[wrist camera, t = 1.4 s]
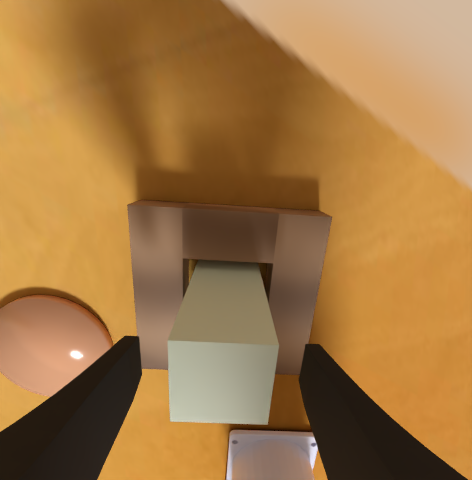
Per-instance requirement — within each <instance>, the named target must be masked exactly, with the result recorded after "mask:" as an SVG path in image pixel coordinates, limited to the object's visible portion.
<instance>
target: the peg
mask: <svg viewBox="0 0 472 480" xmlns="http://www.w3.org/2000/svg"><path fill="white" fill-rule="evenodd" d="M278 349H279V343H278V339H277V335H276V331H275V328H274V324H273V320H272V316H271V312H270V308H269V304H268V300H267V296H266V293H265V289H264V285H263V281H262V277H261V273H260V269H259V265H258V263H257V262H239V261H221V260H202V259H198V262H197V264H196V267H195V270H194V272H193V275H192V277H191V280H190V283H189V285H188V288H187V291H186V293H185V296H184V298H183V301H182V304H181V306H180V309H179V312H178V314H177V317H176V320H175V322H174V325H173V327H172V330H171V333H170V335H169V338H168V372H169V405H170V421H173V422H203V423H232V424H262V425H268V419H269V412H270V405H271V398H272V391H273V384H274V377H275V370H276V363H277V356H278Z"/></svg>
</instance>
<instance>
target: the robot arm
mask: <svg viewBox="0 0 472 480" xmlns="http://www.w3.org/2000/svg"><path fill="white" fill-rule="evenodd" d="M141 376H142V366H141V353H140V340H139V336H124V337H123V338H122V339H121V340H119V341H118V342H117V343H116V344H115V345H113V346H112V347H111V348H110V349H109V350H108V351H107V352H105V353H104V354H103V355H102V356H101V357H100V358H98V359H97V360H96V361H95V362H94V363H93V364H91V365H90V366H89V367H88V368H87V369H85V370H84V371H83V372H82V373H81V374H79V375H78V376H77V377H76V378H74V379H73V380H72V381H71V382H69V383H68V384H67V385H65V386H64V387H63V388H62V389H60V390H59V391H58V392H56V393H55V394H54V395H53V396H51V397H50V398H49V399H47V400H46V401H45V402H43V403H42V404H41V405H39V406H38V407H36V408H35V409H34V410H32V411H31V412H29V413H28V414H26V415H25V416H23V417H22V418H21V419H19V420H18V421H16V422H15V423H13V424H12V425H10V426H9V427H7V428H6V429H4V430H3V431H1V432H0V480H97V479H98V477H99V474H100V472H101V469H102V467H103V465H104V463H105V461H106V458H107V456H108V454H109V452H110V450H111V448H112V445H113V443H114V441H115V439H116V437H117V435H118V432H119V430H120V428H121V426H122V424H123V422H124V419H125V417H126V415H127V413H128V411H129V408H130V406H131V404H132V402H133V399H134V396H135V394H136V391H137V388H138V385H139V382H140V379H141ZM299 384H300V389H301V394H302V398H303V403H304V407H305V410H306V413H307V416H308V420H309V423H310V426H311V429H312V432H291V431H262V430H232V431H231V432H230V436H229V449H228V462H227V474H226V480H315V479H314V475H313V467H314V463H315V459H316V455H317V450H319V453H320V456H321V459H322V463H323V466H324V469H325V472H326V475H327V478H328V480H468V479H466V478H465V477H464V476H462V475H461V474H460V473H458V472H457V471H456V470H454V469H453V468H452V467H451V466H449V465H448V464H447V463H445V462H444V461H443V460H442V459H440V458H439V457H438V456H436V455H435V454H434V453H433V452H431V451H430V450H429V449H428V448H426V447H425V446H424V445H423V444H421V443H420V442H419V441H418V440H417V439H415V438H414V437H413V436H412V435H411V434H410V433H408V432H407V431H406V430H405V429H404V428H403V427H401V426H400V425H399V424H398V423H397V422H396V421H394V420H393V419H392V418H391V417H390V416H389V415H388V414H387V413H386V412H385V411H384V410H382V409H381V408H380V407H379V406H378V405H377V404H376V403H375V402H374V401H373V400H372V399H371V398H370V397H369V396H368V395H367V394H366V393H365V392H364V391H363V390H362V389H361V388H360V387H359V386H358V385H357V384H356V383H355V382H354V381H353V380H352V379H351V378H350V377H349V376H348V375H347V374H346V373H345V372H344V371H343V369H342V368H341V367H340V366H339V365H338V364H337V363H336V362H335V361H334V360H333V359H332V357H331V356H330V355H329V354H328V353H327V352H326V351H325V350H324V349H323V348H322V347H321V346H320V345H319V344H305V349H304V355H303V360H302V365H301V371H300V376H299Z"/></svg>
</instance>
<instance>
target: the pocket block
mask: <svg viewBox="0 0 472 480" xmlns="http://www.w3.org/2000/svg"><path fill="white" fill-rule="evenodd" d="M127 206H128V219H129V233H130V246H131V259H132V272H133V285H134V298H135V312H136V325H137V336H139V340H140V353H141V366H142V369H164V370H168V338H169V335H170V333H171V330H172V327H173V325H174V322H175V320H176V317H177V314H178V312H179V309H180V306H181V304H182V301H183V298H184V296H185V293H186V291H187V288H188V285H189V259H202V260H221V261H239V262H257V263H267V270H266V279H265V288H264V289H265V293H266V296H267V300H268V304H269V308H270V312H271V316H272V320H273V324H274V328H275V331H276V335H277V339H278V343H279V349H278V356H277V363H276V370H275V374H287V375H300V371H301V365H302V360H303V355H304V349H305V344H308V342H309V337H310V332H311V326H312V321H313V316H314V310H315V305H316V300H317V295H318V289H319V284H320V279H321V273H322V268H323V263H324V257H325V252H326V247H327V242H328V236H329V231H330V226H331V220H332V217H331V216H329V215H327V214H325V213H323V212H321V211H315V210H299V209H283V208H266V207H250V206H234V205H217V204H201V203H185V202H168V201H152V200H139V201H136V202H134V203H131V204H128V205H127Z"/></svg>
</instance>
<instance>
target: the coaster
mask: <svg viewBox="0 0 472 480" xmlns="http://www.w3.org/2000/svg"><path fill="white" fill-rule="evenodd" d="M112 346H113V343H112V340H111V337H110V335H109V333H108V331H107V330H106V328H105V327H104V325H103V324H102V323H101V322H100V320H99V319H98V318H97V317H96V316H94V315H93V314H92V313H91V312H90V311H88V310H87V309H85V308H84V307H82V306H80V305H79V304H77V303H74V302H72V301H70V300H67V299H64V298H61V297H56V296H51V295H30V296H25V297H21V298H18V299H16V300H14V301H12V302H10V303H9V304H7V305H5V306H4V307H2V308H0V372H1V373H2V374H3V375H4V376H5V377H7V378H8V379H9V380H10V381H12V382H13V383H15V384H16V385H18V386H20V387H22V388H24V389H26V390H28V391H30V392H33V393H36V394H40V395H43V396H49V397H51V396H53V395H54V394H55V393H56V392H58V391H59V390H60V389H62V388H63V387H64V386H65V385H67V384H68V383H69V382H71V381H72V380H73V379H74V378H76V377H77V376H78V375H79V374H81V373H82V372H83V371H84V370H85V369H87V368H88V367H89V366H90V365H91V364H93V363H94V362H95V361H96V360H97V359H98V358H100V357H101V356H102V355H103V354H104V353H105V352H107V351H108V350H109V349H110V348H111V347H112Z"/></svg>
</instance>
